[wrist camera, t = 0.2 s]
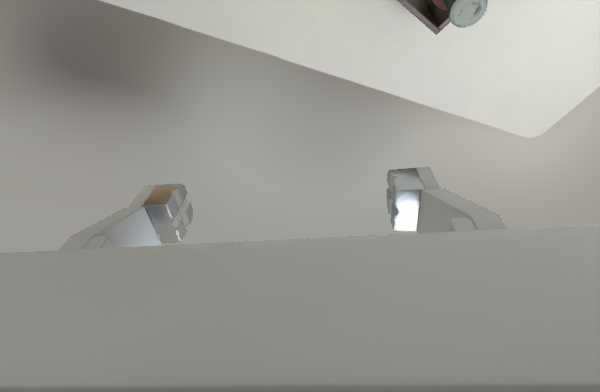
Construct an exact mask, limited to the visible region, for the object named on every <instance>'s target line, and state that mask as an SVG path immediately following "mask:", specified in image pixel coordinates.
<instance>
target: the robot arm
mask: <svg viewBox="0 0 600 392" xmlns="http://www.w3.org/2000/svg"><path fill="white" fill-rule="evenodd" d="M387 182H388V185H389V188H388V189H387V208H388V212H389V214H391V223H392V227H393V230H394V231H395V232H397V231H417V232H418V233H411V234H389V235H369V236H348V237H328V238H307V239H286V240H265V241H244V242H223V243H203V244H182V245H161V243H174V242H181V241H182V239H183V237H184V235H185V233H186V228H185V227H186V226H188V225H189V224H190V223H191V221H192V218H193V208H192V205H191V202H190V201H189V200H188V199H187V198H185V197H186V195H187V190H186V188H185V186H184V185H183V184H166V185H148V186H145V187H144V188H143V189H142V191H141V192H140V193H139V194H138V196H137V197H136V198H135V200H134V201H133V202H132V203H131V205H130V206H129V207H128V208H123V209H122V210H120V211H118V212H116V213H114V214H112V215H110V216H108V217H107V218H105V219H103V220H101V221H99V222H97V223H95V224H93V225H92V226H90V227H88V228H86V229H84V230H82V231H80V232H79V233H77V234H75V235H73V236H71V237H70V238H69V239H68V240H67V241H66V242H65V244H64V245H63V246H62V247H61V248H60V249H59V250H57V251H36V252H16V253H0V392H600V224H599V225H598V224H597V225H577V226H556V227H535V228H514V229H508V228H507V226H506V225H505V223H504V222H503V221H502V219H501V218H500V216H499V215H498V214H496V213H494V212H492V211H490V210H488V209H486V208H484V207H482V206H479V205H477V204H475V203H473V202H471V201H469V200H467V199H465V198H463V197H461V196H459V195H457V194H455V193H453V192H451V191H449V190H447V189H441V188H440V186H439V184H438V182H437V181H436V179H435V177H434V175H433V173H432V171H431V169H430V168H429V167H419V168H408V169H397V170H389V171H388V173H387ZM160 245H161V246H160Z"/></svg>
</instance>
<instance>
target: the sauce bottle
mask: <svg viewBox="0 0 600 392" xmlns="http://www.w3.org/2000/svg"><path fill="white" fill-rule="evenodd" d="M432 1H433V3H434V4H435V5H436V6H437V7H438V8H440V9H444V10H447V15H448V17H449V19H450V21H451V22H452V24H454V25H455V26H457V27H467V26H471V25H473V24H475V23H476V22H477V21H479V20H480V19H481V18H482V16H483V15H484V13H485V11H486V8H487V0H432Z"/></svg>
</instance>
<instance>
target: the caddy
mask: <svg viewBox="0 0 600 392" xmlns="http://www.w3.org/2000/svg"><path fill="white" fill-rule="evenodd" d="M398 1H399V2H400V3H401V4H402V5H403V6H404V7H406V8H407V9H408V10H409V11H410V12H411V13H412V14H413V15H415V16H416V17H417V18H418V19H419V20H420V21H421V22H423V23H424V24H425V25H426V26H427V27H428V28H429V29H430V30H432V31H433V32H434V33H435V34H436V35H437V34H438V33H439V32H440V30H442V29H443V28H444V27H445V26H446V25H447V24H448V23H449V22H450V19H449V17H448V15H447V10H444V9H440V8H438V7H437V6H436V5H435V4H434V3H432V4H431V5H430V6H429V7H428V6H427V5H426V4H425V3H424V2H423V1H422V0H398Z"/></svg>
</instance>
